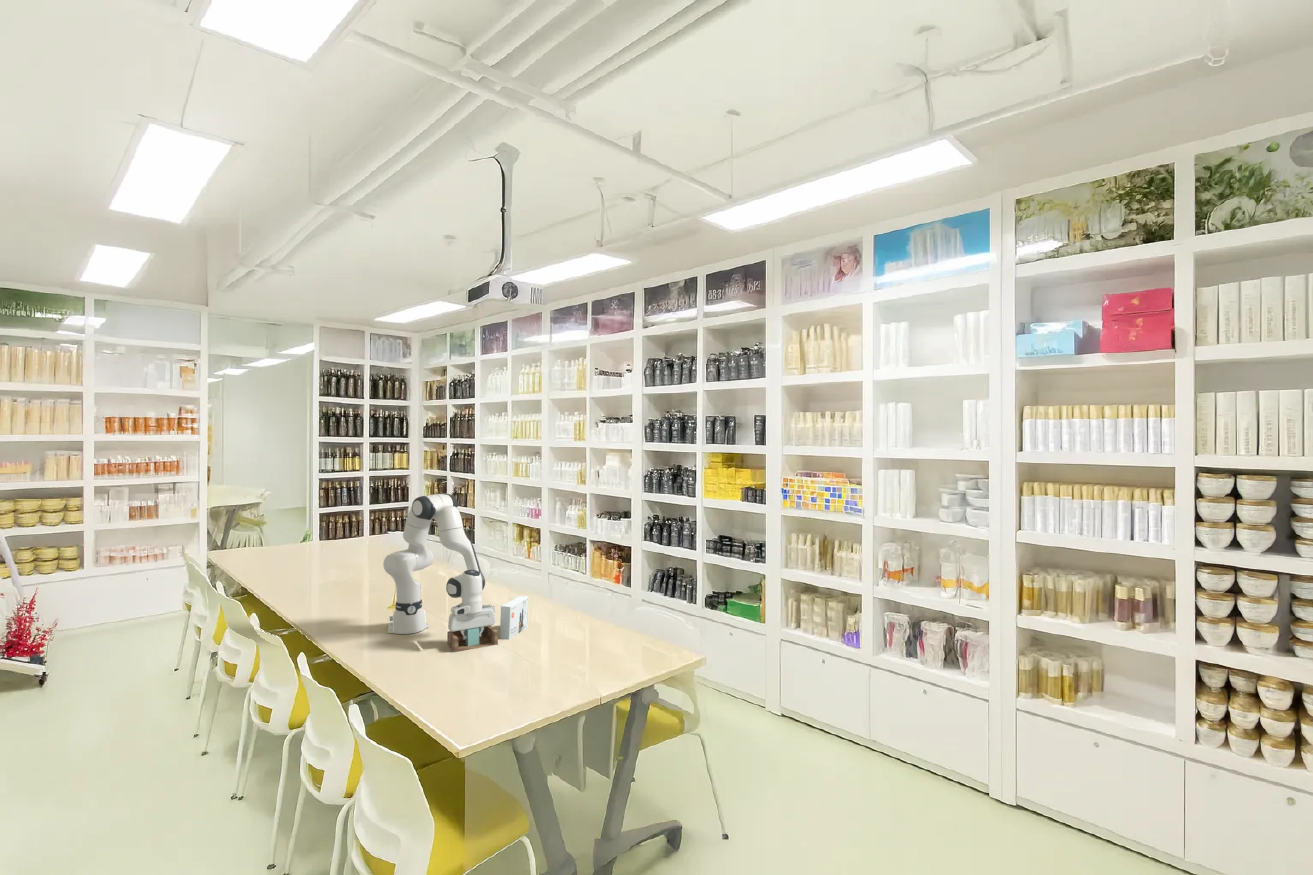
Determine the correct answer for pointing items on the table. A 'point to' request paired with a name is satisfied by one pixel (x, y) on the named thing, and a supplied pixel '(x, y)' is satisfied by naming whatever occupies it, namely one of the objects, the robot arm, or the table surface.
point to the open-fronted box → (486, 639)
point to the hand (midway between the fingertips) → (471, 637)
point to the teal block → (472, 636)
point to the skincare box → (514, 617)
